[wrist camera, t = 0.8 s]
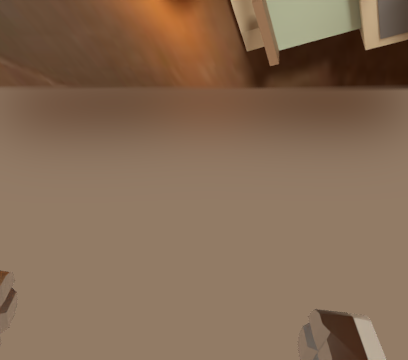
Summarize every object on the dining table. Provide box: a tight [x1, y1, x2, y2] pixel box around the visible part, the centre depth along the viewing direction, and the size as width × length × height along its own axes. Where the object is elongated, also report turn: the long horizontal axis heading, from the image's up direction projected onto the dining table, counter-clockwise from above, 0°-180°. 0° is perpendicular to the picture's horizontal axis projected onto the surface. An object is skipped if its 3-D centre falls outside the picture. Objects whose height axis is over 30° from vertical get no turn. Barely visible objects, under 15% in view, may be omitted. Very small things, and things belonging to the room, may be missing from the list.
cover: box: [252, 0, 361, 66], centre depth 40 cm, size 14×7×4 cm, turn 111°
